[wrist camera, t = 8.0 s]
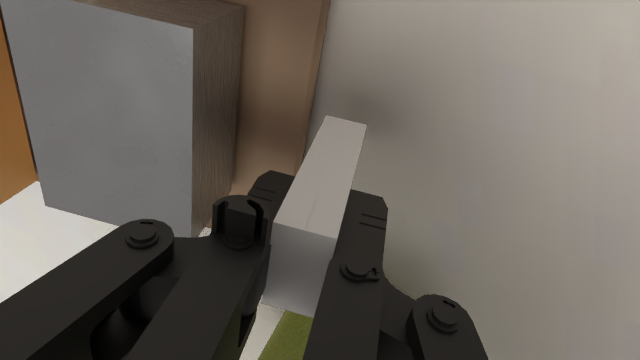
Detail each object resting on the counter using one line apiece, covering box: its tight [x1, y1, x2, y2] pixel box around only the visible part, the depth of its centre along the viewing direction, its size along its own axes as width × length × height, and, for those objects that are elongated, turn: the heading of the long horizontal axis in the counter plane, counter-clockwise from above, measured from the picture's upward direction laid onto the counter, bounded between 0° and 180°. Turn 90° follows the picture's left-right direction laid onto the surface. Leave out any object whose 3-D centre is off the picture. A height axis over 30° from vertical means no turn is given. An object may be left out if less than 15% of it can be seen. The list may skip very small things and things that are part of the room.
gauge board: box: [0, 0, 330, 229], centre depth 17 cm, size 14×24×6 cm, turn 80°
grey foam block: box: [0, 0, 244, 238], centre depth 16 cm, size 8×6×4 cm
